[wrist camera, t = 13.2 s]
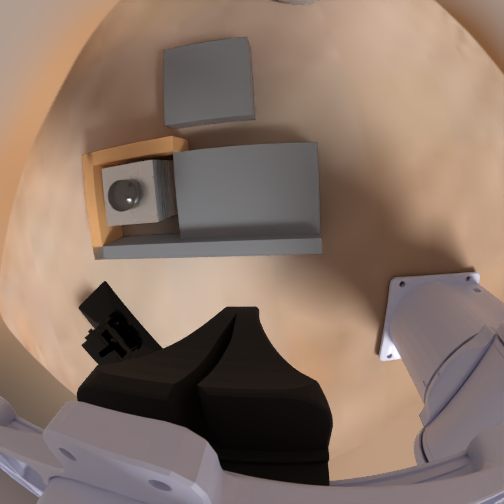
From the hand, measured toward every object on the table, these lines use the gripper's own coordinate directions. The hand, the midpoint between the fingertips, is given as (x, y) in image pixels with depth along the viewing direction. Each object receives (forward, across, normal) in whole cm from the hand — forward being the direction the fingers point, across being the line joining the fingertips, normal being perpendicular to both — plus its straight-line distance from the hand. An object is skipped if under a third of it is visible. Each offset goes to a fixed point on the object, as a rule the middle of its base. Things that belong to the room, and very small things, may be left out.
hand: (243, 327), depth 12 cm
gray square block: (+10, +3, -13) cm, 17 cm away
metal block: (+11, +8, -6) cm, 14 cm away
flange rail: (+10, +4, -5) cm, 12 cm away
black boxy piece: (+11, +14, +8) cm, 19 cm away
